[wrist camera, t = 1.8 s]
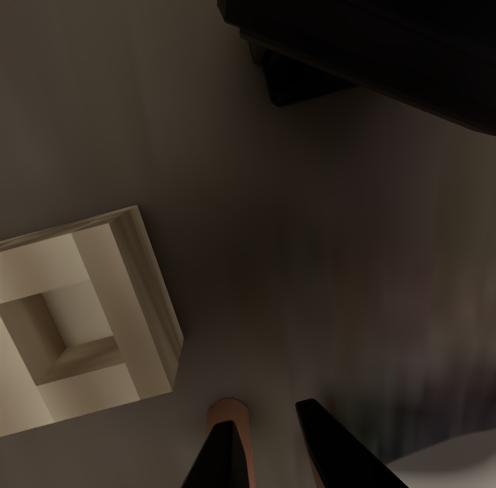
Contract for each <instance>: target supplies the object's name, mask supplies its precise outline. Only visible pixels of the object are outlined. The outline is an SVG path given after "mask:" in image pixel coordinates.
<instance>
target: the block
mask: <svg viewBox="0 0 496 488" xmlns="http://www.w3.org/2000/svg"><path fill="white" fill-rule="evenodd" d="M183 341H184V337H183V334H182V331H181V328H180V326H179V323H178V320H177V317H176V314H175V311H174V308H173V306H172V303H171V300H170V297H169V294H168V291H167V288H166V286H165V283H164V280H163V277H162V274H161V271H160V268H159V266H158V263H157V260H156V257H155V254H154V251H153V248H152V246H151V243H150V240H149V237H148V234H147V231H146V228H145V226H144V223H143V220H142V217H141V214H140V211H139V208H138V206H137V205H134V206H130V207H127V208H123V209H119V210H115V211H111V212H108V213H104V214H100V215H96V216H93V217H89V218H85V219H81V220H78V221H74V222H70V223H66V224H63V225H59V226H55V227H51V228H48V229H44V230H40V231H36V232H33V233H29V234H25V235H21V236H18V237H14V238H10V239H6V240H3V241H0V437H1V436H5V435H9V434H13V433H16V432H20V431H24V430H28V429H32V428H36V427H39V426H43V425H47V424H51V423H55V422H58V421H62V420H66V419H70V418H74V417H77V416H81V415H85V414H89V413H93V412H96V411H100V410H104V409H108V408H112V407H116V406H119V405H123V404H127V403H131V402H135V401H138V400H142V399H146V398H150V397H154V396H157V395H161V394H165V393H169V392H173V387H174V382H175V378H176V373H177V368H178V364H179V359H180V355H181V350H182V345H183Z"/></svg>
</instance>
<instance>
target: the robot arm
mask: <svg viewBox="0 0 496 488" xmlns="http://www.w3.org/2000/svg"><path fill="white" fill-rule="evenodd" d="M217 6H218V8H219V10H220V12H221V15H222V17H223V19H224V21H225V22H226V23H228V24H231V25H233V26H236V27H238V28H240V32H239V33H240V38H243V39H245V40H248V42H249V47H250V51H251V55H252V60H253V63H255V64H256V65H257V66H263V70H264V75H265V79H266V84H267V88H268V93H269V97H270V100H271V102H272V103H273V104H274V105H275V106H277V107H282V106H286V105H290V104H294V103H297V102H301V101H305V100H309V99H312V98H316V97H320V96H324V95H327V94H331V93H335V92H339V91H342V90H346V89H350V88H353V87H357V86H363V87H365V88H368V89H370V90H373V91H375V92H378V93H380V94H383V95H385V96H388V97H390V98H393V99H395V100H398V101H400V102H403V103H405V104H408V105H410V106H413V107H415V108H418V109H420V110H423V111H425V112H428V113H430V114H433V115H435V116H438V117H440V118H443V119H445V120H448V121H450V122H453V123H455V124H458V125H460V126H463V127H465V128H468V129H470V130H473V131H476V132H480V133H484V134H488V135H493V136H496V0H217ZM278 90H282V91H284V93H285V98H284V100H278V99H277V97H276V92H277V91H278ZM295 407H296V411H297V415H298V419H299V423H300V426H301V430H302V434H303V438H304V441H305V445H306V449H307V453H308V456H309V460H310V464H311V467H312V471H313V475H314V479H315V482H316V486H317V488H409V487H408V486H406V485H405V484H404V483H403V482H402V481H401V480H400V479H399V478H398V477H397V476H396V475H395V474H394V473H393V472H392V471H391V470H389V469H388V468H387V467H386V466H385V465H384V464H383V463H382V462H381V461H380V460H379V459H378V458H377V457H376V456H375V455H374V454H373V453H372V452H370V451H369V450H368V449H367V448H366V447H365V446H364V445H363V444H362V443H361V442H360V441H359V440H358V439H357V438H356V437H355V436H354V435H353V434H351V433H350V432H349V431H348V430H347V429H346V428H345V427H344V426H343V425H342V424H341V423H340V422H339V421H338V420H337V419H336V418H335V417H333V416H332V415H331V414H330V413H329V412H328V411H327V410H326V409H325V408H324V407H323V406H322V405H321V404H320V403H319V402H318V401H316V400H315V399H313V398H310V399H307V400H303V401H299V402H297V403H296V404H295ZM181 488H250V483H249V476H248V468H247V461H246V455H245V451H244V448H243V445H242V442H241V439H240V436H239V432H238V429H237V426H236V424H235V422H234V421H233V420H227V421H223V422H219V423H216V424H215V425H214V426H213V427H212V429H211V431H210V433H209V435H208V437H207V438H206V440H205V442H204V444H203V446H202V448H201V450H200V452H199V454H198V456H197V458H196V459H195V461H194V463H193V465H192V467H191V469H190V471H189V473H188V475H187V477H186V478H185V480H184V482H183V484H182V486H181Z"/></svg>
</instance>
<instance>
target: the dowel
mask: <svg viewBox="0 0 496 488" xmlns="http://www.w3.org/2000/svg"><path fill="white" fill-rule="evenodd" d="M227 420H233V421H234V422H235V424H236V426H237V429H238V432H239V436H240V439H241V442H242V445H243V448H244V451H245V455H246V461H247V468H248V476H249V483H250V488H256V485H255V474H254V463H253V452H252V441H251V430H250V419H249V411H248V409H247V407H246V406H245V405H244V404H243V403H242V402H240V401H238V400H235V399H223V400H220V401H218V402H216V403H214V404H213V405H212V406H211V408H210V409H209V411H208V415H207V429H206V438H207V437H208V435H209V433H210V431H211V429H212V427H213V426H214V425H215V424H216V423H219V422H223V421H227Z"/></svg>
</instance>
